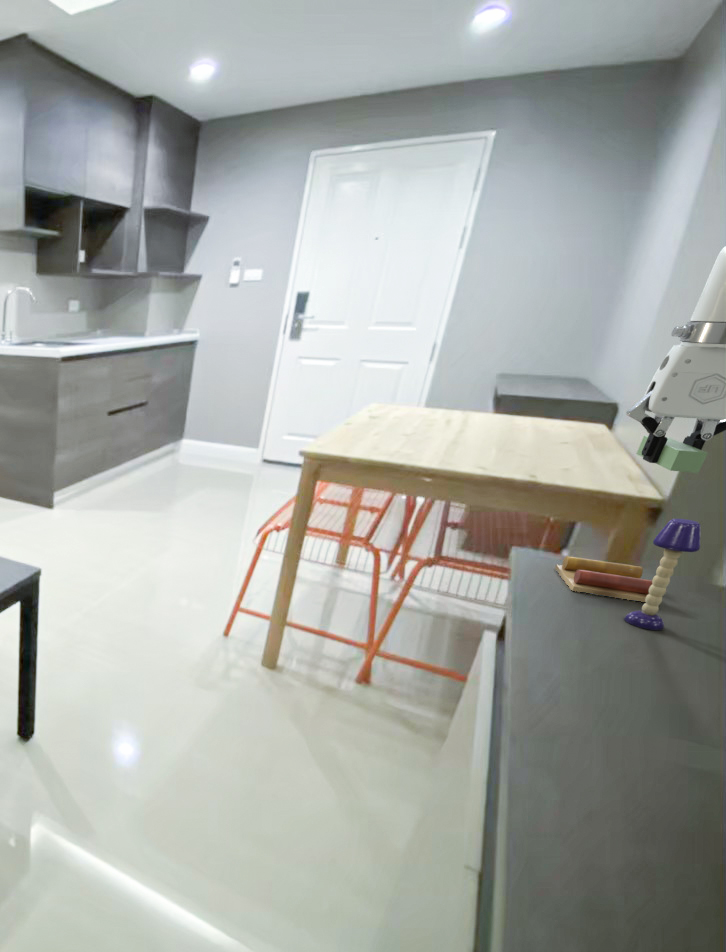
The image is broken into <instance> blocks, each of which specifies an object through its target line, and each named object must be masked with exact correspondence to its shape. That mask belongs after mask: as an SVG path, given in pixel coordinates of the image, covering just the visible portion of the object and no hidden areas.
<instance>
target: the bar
mask: <svg viewBox="0 0 726 952" xmlns="http://www.w3.org/2000/svg"><path fill="white" fill-rule="evenodd" d="M648 436H649V435H643V436H642V439H641V442H640V444H639V446H638V449H637V451H636V455H637V456H640V457H641V458H643V455H642V450H643V448H644V445H645V443H646V441H647V438H648ZM667 438H668V440H667V442H666V444H665V446H664V448H663V450H662V452H661V455H660V457H659V459H658V461H657V462H656V463H655V464H657V465H658V466H661V467H663V468H665V469H667V470H668V471H671V472H672V471H673V472H681V473H693V474H699V472H700V471H701V468H702V466H703V464H704V462H705V460H706V457H707V456H708V454H709V453H708V451H705V450H700V449H697V448H694V447H692V446H689V445H687V444H684V443H683V441H682V442H681V441H680V440H676V439H674V438H672V437H668V436H667Z"/></svg>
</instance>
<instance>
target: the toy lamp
mask: <svg viewBox="0 0 726 952" xmlns="http://www.w3.org/2000/svg"><path fill="white" fill-rule="evenodd" d="M652 544H653V545H654V546H656V547H659V548H662V549H664V550H663V556H662V557H661V559H660V560H659V566H658V567H657V568H656V572H655V574H656V575H654V576H653V577H652V579H651V580H652V585H651V586H650V588H649V594H648V595H647V596H646V598H645V602H646V603H643V604H642V606H641V610H634V611H631V612H629V613H628V614H626V615H625V617H624V621H625V622H626V623H627V624H630V625H631V626H634V627H638V628H640V629H645V630H650V631H661V630H664V627H665V624H664V620H663V619H662V618H661V616H659V615H658V612H659V609H660V608H659V606H660V605H662V604H661V603H662V602H663V596H664V595H665V594H666V593H667V587H668V586H669V584H670V583H671V577H672V576H673V575H674V572H675V570H674V569H675V567H676V566H677V565H678V562H679V559H678V558H681V556H682V553H684V552H685V553H696V552H698V551H700V548H701V524H700V523H699V522H698V521H696V520H692V519H685V518H672V519H670V520H669V521H668V522H667V523H666V524H665V525H664V526H663V528H662V529H661V530H660V531H659V532H658V534H657V535H656V536H655V538H654V539H653V541H652Z"/></svg>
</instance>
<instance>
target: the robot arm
mask: <svg viewBox="0 0 726 952" xmlns="http://www.w3.org/2000/svg"><path fill="white" fill-rule="evenodd" d="M670 336H671V337H678V338H679V341H680V344H673V346H671V349H670V350H669V351H668V352H667V354H666V356H664V359H663V360H662V361H661V363H660V364H659V366H658V368H657V369H656V371H655V374H653V377H652V379H651V380H650V381H649V384H648V386H647V388H646V390H645V393H644V395H643V397H642V398H641V399H639V400H638V401H637V402H636V403H634V404H633V405H632V406H630V408H629V409H627V410H626V412H625V414H626V416H628V417H630V418H631V419H633V420H635V421H636V422H638V423H640V424H641V425H642V427H644V429H645V431H646V432H647V434H648V435H647V436H648V438H647V441H646V443H645V445H644V448H643V450H642V455H643V457H642V460H643V461H646V462H648V463H650V464H656V462H657V461H658V459H659V457H660V455H661V452H662V450H663V448H664V446H665V444H666V442H667V440H668V438H667V437H668V436H667V437H666V435H667V431H668V430H669V428H670V426H671V425H672V423H673V421H674V420H675V418H683V419H695V423H694V426H693V430H692V432H691V433H690V435H687V436H685V437H684V439H683V441H682V443H684V444H687V445H689V446H692V447H694V448H697V449H700V450H702V449H703V448H704V445H705V443H706V442H707V441H710V440H711V439H712V438H714V437H715V436H717V435H719V434H721V433H723V432H725V431H726V245H725V246H724V247H722V248H721V250H720V252H719V253H718V254H717V257H716V259H715V262H714V264H713V266H712V268H711V271H710V273H709V275H708V278H707V280H706V283H705V285H704V287H703V290H702V292H701V294H700V296H699V299H698V301H697V303H696V306H695V308H694V311H693V313H692V315H691V317H690V319H689V321H687V323H686V324H685V325H681V326H675V327H673V329H672V331H671V335H670ZM646 412H649V413H653V414H654V416H653V417H652V416H650V415H649V414H647V413H646ZM702 451H703V450H702Z"/></svg>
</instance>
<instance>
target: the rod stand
mask: <svg viewBox="0 0 726 952" xmlns="http://www.w3.org/2000/svg"><path fill="white" fill-rule="evenodd" d="M643 568H644V567H642V566H639V565H632V564H625V563H619V562H618V563H617V562H610V561H604V560H597V559H590V558H585V557H584V558H583V557H576V556H569V555H567V556H564V558H563V560H562V564H555V566H554V570H555V569H556V570H557V571H558V573H559V574H558V573H557V574H558V576H559V577H560V576H561V577H560V578H561V579H562V581H563V580H564V581H565V582H564V581H563V582H564V583H565V584H566V586H567V585H568V586H569V587H568V586H567V587H568V589H569V590H570V591H571V590H572V591H571V592H573V591H575V592H576V591H577V592H576V593H580V592H586V593H593V594H598V595H605V596H611V597H615V598H614V599H616V597H617V598H622V599H621V600H623V599H627V600H626V601H629V600H637V601H641V602H645V598H646V596H647V595H648V594H649V588H650V586H651V585H652V580H653V579H644V578H642V576H643V572H644V569H643ZM630 569H633V570H630ZM556 570H555V571H556ZM575 592H574V593H575ZM586 593H585V594H586ZM598 595H597V596H598ZM641 602H640V603H641Z"/></svg>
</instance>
